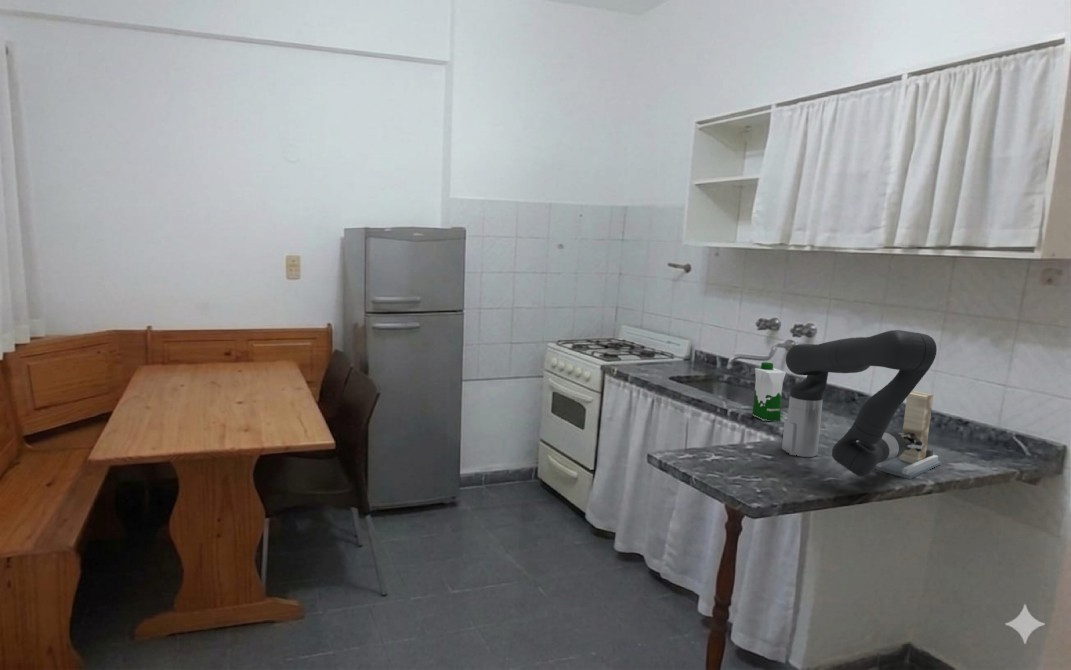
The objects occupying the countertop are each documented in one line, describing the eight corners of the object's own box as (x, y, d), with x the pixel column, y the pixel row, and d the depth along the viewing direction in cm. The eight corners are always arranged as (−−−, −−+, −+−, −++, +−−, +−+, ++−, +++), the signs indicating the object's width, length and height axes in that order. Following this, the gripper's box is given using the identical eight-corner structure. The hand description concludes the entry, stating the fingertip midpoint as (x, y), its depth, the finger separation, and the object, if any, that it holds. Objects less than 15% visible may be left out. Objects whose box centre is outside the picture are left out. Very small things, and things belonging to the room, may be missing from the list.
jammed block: (917, 464, 187) (925, 396, 184) (899, 459, 191) (907, 393, 188) (924, 461, 190) (933, 394, 187) (906, 456, 194) (914, 391, 191)
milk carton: (769, 414, 242) (773, 361, 239) (784, 421, 233) (789, 366, 230) (748, 415, 239) (752, 362, 236) (763, 422, 231) (768, 367, 228)
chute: (909, 479, 178) (911, 465, 178) (872, 468, 186) (874, 454, 186) (940, 464, 191) (942, 451, 191) (904, 455, 199) (906, 442, 198)
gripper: (911, 439, 171) (938, 429, 182) (860, 426, 182) (889, 418, 192) (908, 466, 172) (935, 455, 183) (858, 452, 183) (886, 442, 193)
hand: (911, 436), depth 188 cm, fingers closed
